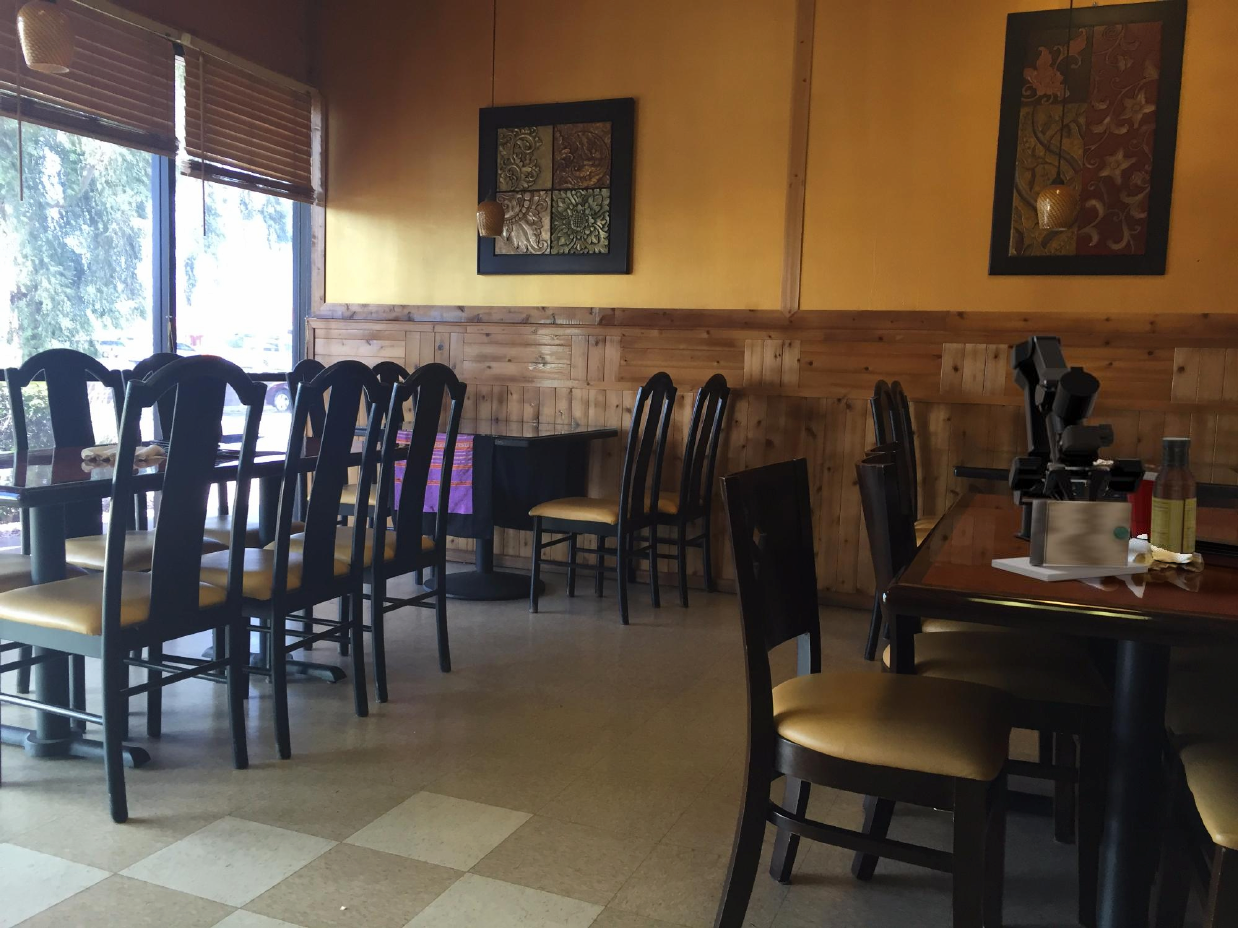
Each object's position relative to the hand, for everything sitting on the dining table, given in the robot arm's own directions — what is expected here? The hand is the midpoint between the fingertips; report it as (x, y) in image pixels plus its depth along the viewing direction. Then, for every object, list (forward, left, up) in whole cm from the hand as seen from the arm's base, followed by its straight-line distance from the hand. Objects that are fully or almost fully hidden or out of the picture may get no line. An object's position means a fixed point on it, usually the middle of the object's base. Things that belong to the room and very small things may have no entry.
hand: (1083, 518), depth 148 cm
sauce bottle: (-7, +20, -8) cm, 23 cm away
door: (+1, -1, -7) cm, 7 cm away
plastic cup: (-27, +31, -8) cm, 42 cm away
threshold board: (-2, -1, -8) cm, 8 cm away
